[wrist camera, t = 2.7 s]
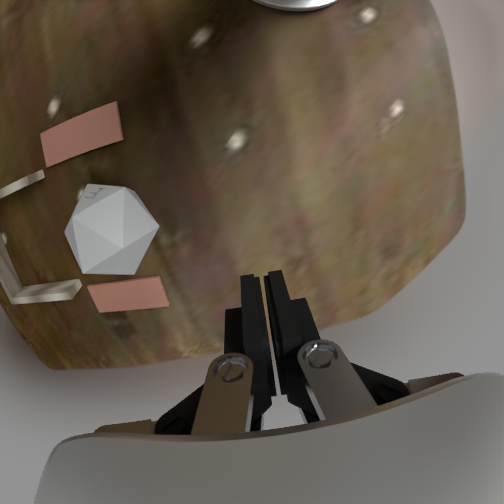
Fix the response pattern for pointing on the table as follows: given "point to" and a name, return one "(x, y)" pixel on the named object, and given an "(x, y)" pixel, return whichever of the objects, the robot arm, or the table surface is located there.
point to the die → (110, 230)
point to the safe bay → (6, 274)
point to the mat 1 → (82, 134)
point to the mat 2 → (129, 294)
